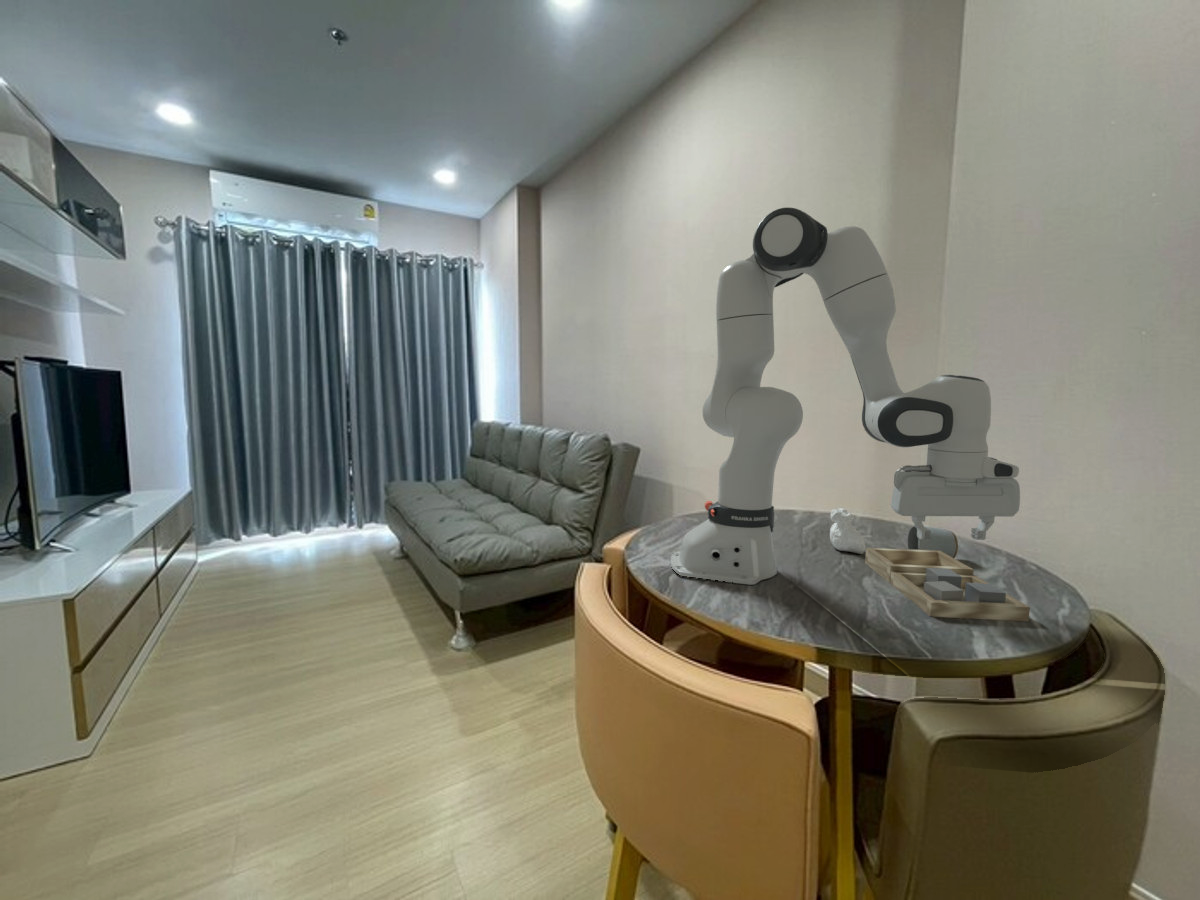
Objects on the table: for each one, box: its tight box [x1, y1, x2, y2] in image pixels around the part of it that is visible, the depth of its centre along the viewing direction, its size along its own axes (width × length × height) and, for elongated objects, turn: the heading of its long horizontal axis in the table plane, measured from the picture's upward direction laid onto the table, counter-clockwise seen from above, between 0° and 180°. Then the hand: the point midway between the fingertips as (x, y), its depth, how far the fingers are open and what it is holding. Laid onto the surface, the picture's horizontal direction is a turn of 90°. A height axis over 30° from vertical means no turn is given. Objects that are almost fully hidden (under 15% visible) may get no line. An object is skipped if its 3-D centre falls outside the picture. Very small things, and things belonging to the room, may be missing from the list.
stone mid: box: [925, 568, 962, 589], centre depth 91 cm, size 4×4×4 cm
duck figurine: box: [829, 507, 866, 555], centre depth 118 cm, size 12×8×11 cm
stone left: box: [924, 581, 964, 601], centre depth 85 cm, size 4×4×4 cm
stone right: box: [964, 583, 1007, 603], centre depth 84 cm, size 4×4×4 cm
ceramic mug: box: [906, 524, 959, 559], centre depth 113 cm, size 11×8×8 cm
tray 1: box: [864, 547, 974, 584], centre depth 101 cm, size 15×11×4 cm
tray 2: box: [889, 572, 1031, 622], centre depth 88 cm, size 15×14×3 cm
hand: (950, 538), depth 90 cm, fingers open, 8 cm apart
